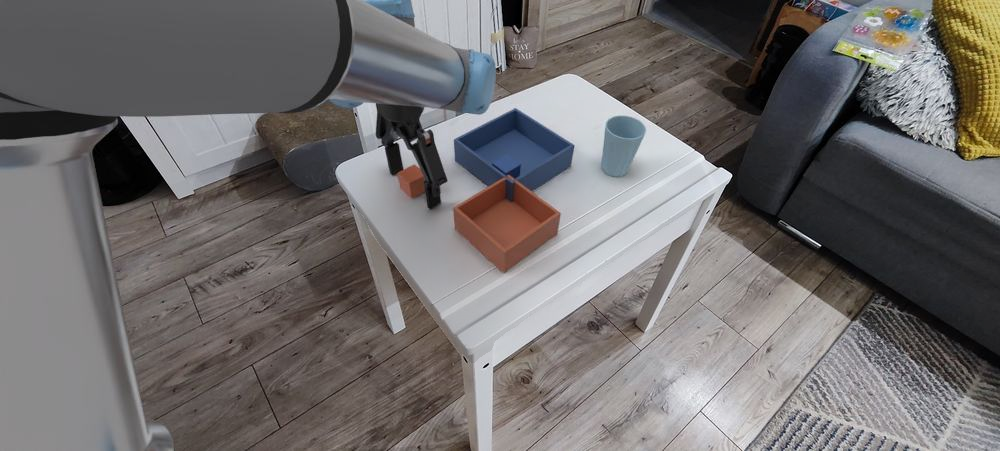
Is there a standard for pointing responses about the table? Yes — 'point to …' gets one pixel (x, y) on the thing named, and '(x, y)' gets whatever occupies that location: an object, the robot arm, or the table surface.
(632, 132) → the cup
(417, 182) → the terracotta block
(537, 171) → the blue bin
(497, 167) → the blue block
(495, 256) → the terracotta bin
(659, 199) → the table surface
